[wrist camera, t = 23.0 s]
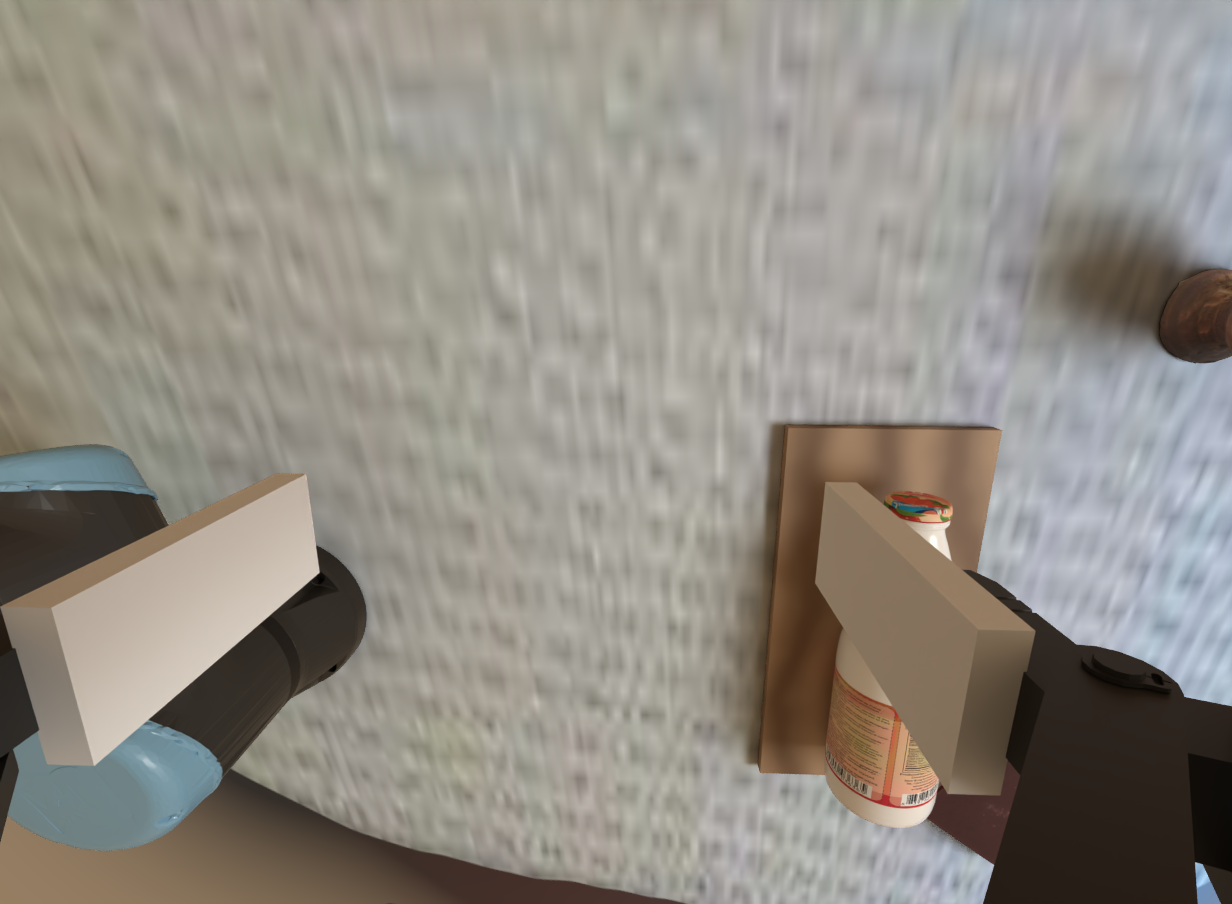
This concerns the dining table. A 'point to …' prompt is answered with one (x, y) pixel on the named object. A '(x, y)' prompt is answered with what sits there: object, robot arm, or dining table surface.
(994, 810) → the book
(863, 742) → the fruit juice
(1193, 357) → the mortar and pestle
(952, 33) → the dining table surface
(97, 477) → the robot arm
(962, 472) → the walnut board
